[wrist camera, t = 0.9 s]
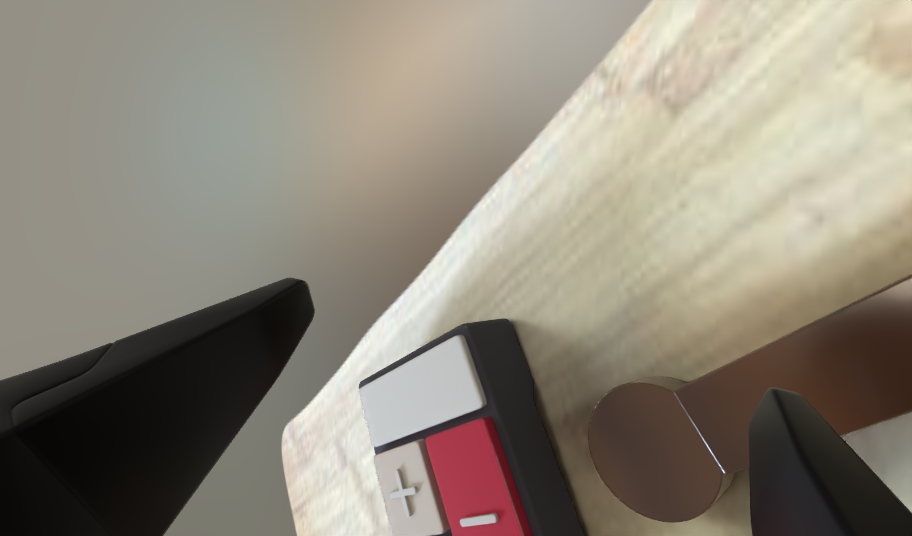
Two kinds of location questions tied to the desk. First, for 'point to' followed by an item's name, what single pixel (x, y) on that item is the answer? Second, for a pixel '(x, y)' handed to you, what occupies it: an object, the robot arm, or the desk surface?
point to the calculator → (465, 440)
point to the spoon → (751, 405)
